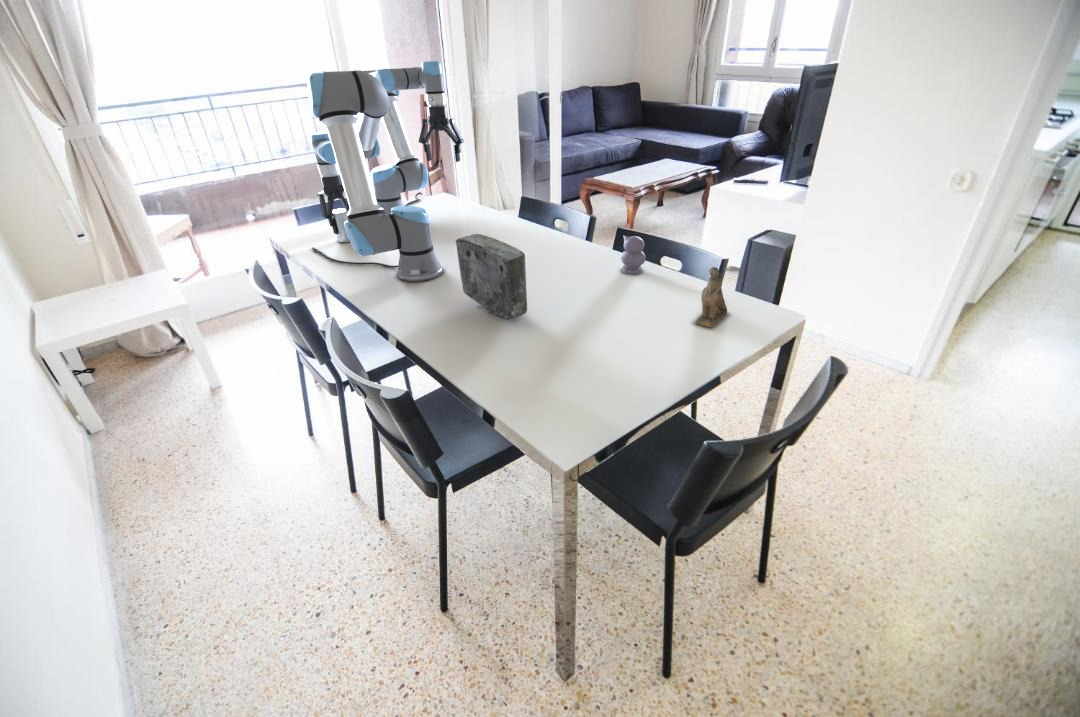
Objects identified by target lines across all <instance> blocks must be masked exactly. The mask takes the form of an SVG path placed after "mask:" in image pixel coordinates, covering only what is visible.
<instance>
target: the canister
mask: <svg viewBox="0 0 1080 717" xmlns="http://www.w3.org/2000/svg"><path fill="white" fill-rule="evenodd" d="M347 214H348V212H347V209H345V208H337V209H333V218H334V219H335V222H336V226H337V230H338V234H336V237H337V241H338V242H339V243H348V242H350V240H349V238H348V235H347V233H346V229H345V226H344V223H345V222H346V221H347V220H348V217H347Z"/></svg>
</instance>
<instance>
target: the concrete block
mask: <svg viewBox="0 0 1080 717" xmlns="http://www.w3.org/2000/svg"><path fill="white" fill-rule="evenodd" d="M455 245H456V254H457V259H458V267H459V273H460V280H461V287H462V291H463V293H464V294H465V295H466V296H468V297H469V298H471V299H472V300H473V301H474V302H476V303H477V304H479V305H480V306H482V307H483V308H485V310H487V311H489V312H491V313H492V314H494V315H496V316H497V317H500V318H502V319H503V320H507V321H511V320H514V319H517V318H519V317H521V316H523V315H525V314H526V313H527V312H528V298H527V296H528V293H527V271H526V270H527V269H526V268H527V267H526V254H525V253H524V252H523V251H522V250H521V249H518V248H517V247H515V246H513V245H511V244H508V243H507V242H504V241H501V240H499V239H496V238H493V237H491V236H489V235H485V234H479V233H472V234H468V235H464V236H460V237H458V238H457V239H456V240H455Z"/></svg>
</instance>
